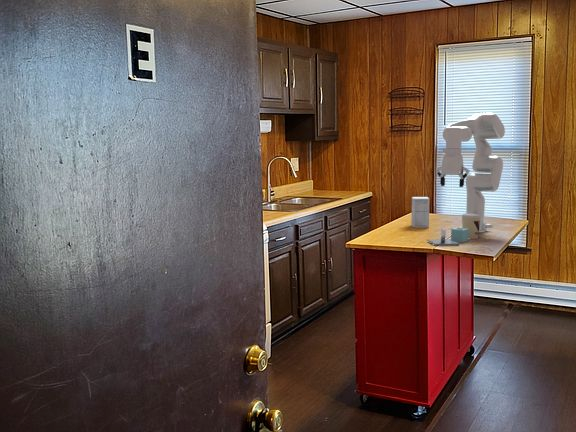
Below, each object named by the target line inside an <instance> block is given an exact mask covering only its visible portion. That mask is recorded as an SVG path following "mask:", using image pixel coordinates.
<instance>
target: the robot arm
mask: <svg viewBox="0 0 576 432" xmlns="http://www.w3.org/2000/svg"><path fill="white" fill-rule="evenodd" d="M505 134H506V129H505V126H504V124H503V122H502V121H501V119H500V117H499V116H498V115H497V114H495V113H493V112H486V113H485V112H483V113H482V112H480V113H475V114H473V115H471V116H470V117H468V118H467V119H463V120H459V121H457V122H453V123H450V124H448V125H447V126H446V127H445V128H444V129H443V132H442V138H443V140H444V141H445V148H444V149H442V152H443V153H444V154H443V155H442V161H441V166H440V167H438V168H436V169H435V172H436V174H437V176H438V177H439V178H440V183H439V184H440V186H441V187H445V185H446V178H445V176H458V177H459V178H460V179H459V187H460V188H463V187H464V185H465V189H466V212H465V213H473V214H480V216H481V217H480V227H479V233H486V232H488V231H487V228H489V229H490V228H493V226H494V225H493V224H492V223H486V222H485V210H486V209H485V208H486V207H485V204H486V199H485V196H484V194H483V193H482V192H487V193H494V192H496V191H497V190H498V189H499V187H500V184H501V183H500V182H501V178H502V174H503V173H502V172H503V168H504V162H503V161H504V160H503V158H502V157H501V156H498V155H492V151H493V148H492V146H491V144H490V143H489V141H488V140H500V139H502V138H504V136H505ZM472 137H473V141H474V144H475V153H474V157H473V161H472V167H471V169H472V170H473V172H475V173H471V174H470V169H468V168H467V167H465V166H464V159H463V154H462V143H465V142H469V141H470V140H471V139H472ZM464 172H465V173H464Z"/></svg>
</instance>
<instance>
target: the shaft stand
mask: <svg viewBox="0 0 576 432" xmlns="http://www.w3.org/2000/svg"><path fill="white" fill-rule="evenodd" d="M440 230H441V231H440V239H434V238H433V239H432V238H431V239H426V242H427V241H429V242H431V243H432V244H434V245H456V246H458V247H459V246H460V242H457V241H453V240H451V238H446V229H445V228H441V229H440ZM429 242H428V243H429ZM431 243H430V244H431ZM432 244H431V245H432ZM434 245H433V246H434Z"/></svg>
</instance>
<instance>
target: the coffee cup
mask: <svg viewBox="0 0 576 432" xmlns="http://www.w3.org/2000/svg"><path fill="white" fill-rule="evenodd" d="M480 217H481V216H480V214H473V213H466V212H465V213H462V215H461V223H462V225H461V226H462V227H461V228H467V229H469V239H471V240H472V239H473V240H474V239H475V240H476V239H478V238H479V234H480V232H479V227H480Z"/></svg>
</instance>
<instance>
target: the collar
mask: <svg viewBox="0 0 576 432" xmlns="http://www.w3.org/2000/svg"><path fill="white" fill-rule="evenodd" d="M450 239H451V240H453V241H455V242H457V243H465V242H468V241H469V229H467V228H462V227H453V228H451V232H450Z"/></svg>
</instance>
